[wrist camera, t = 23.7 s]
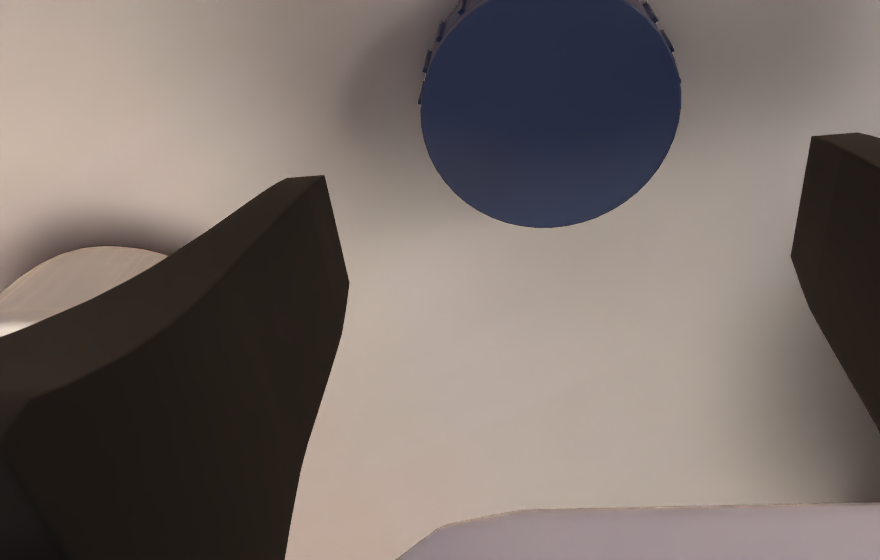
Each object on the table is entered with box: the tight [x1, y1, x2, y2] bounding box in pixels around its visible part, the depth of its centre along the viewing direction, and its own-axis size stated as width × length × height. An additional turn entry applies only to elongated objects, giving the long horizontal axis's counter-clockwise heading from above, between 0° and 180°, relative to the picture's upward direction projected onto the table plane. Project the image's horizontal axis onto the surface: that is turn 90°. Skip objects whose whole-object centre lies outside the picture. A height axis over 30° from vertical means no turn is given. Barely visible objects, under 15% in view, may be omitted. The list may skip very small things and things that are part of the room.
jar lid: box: [418, 0, 681, 228], centre depth 15 cm, size 5×5×2 cm
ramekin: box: [0, 246, 168, 337], centre depth 20 cm, size 9×9×4 cm
